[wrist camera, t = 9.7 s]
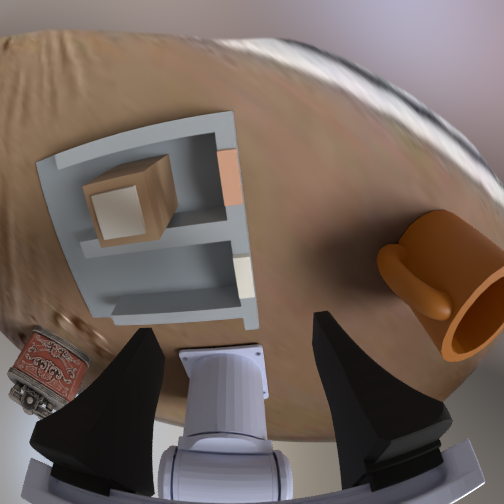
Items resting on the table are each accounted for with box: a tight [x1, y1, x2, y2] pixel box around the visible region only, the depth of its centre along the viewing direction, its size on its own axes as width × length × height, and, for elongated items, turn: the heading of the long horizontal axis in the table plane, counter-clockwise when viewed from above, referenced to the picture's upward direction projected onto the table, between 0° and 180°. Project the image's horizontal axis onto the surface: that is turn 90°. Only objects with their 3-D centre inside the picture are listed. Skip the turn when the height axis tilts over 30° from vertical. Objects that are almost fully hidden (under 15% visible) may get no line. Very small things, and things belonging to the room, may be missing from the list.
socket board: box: [36, 111, 259, 330], centre depth 18 cm, size 14×15×4 cm
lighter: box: [7, 325, 91, 420], centre depth 21 cm, size 8×3×10 cm, turn 55°
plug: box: [82, 154, 179, 248], centre depth 15 cm, size 4×4×5 cm
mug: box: [377, 210, 504, 362], centre depth 17 cm, size 9×12×9 cm
